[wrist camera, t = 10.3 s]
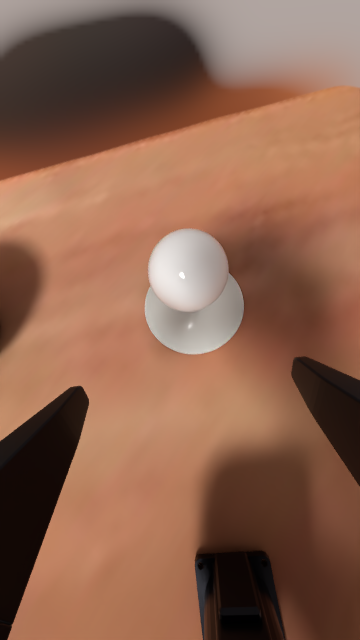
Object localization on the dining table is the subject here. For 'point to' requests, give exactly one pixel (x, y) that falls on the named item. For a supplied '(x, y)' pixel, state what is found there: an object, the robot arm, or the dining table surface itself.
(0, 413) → the dining table surface
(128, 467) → the dining table surface
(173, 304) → the lightbulb
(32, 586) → the dining table surface
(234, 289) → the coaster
